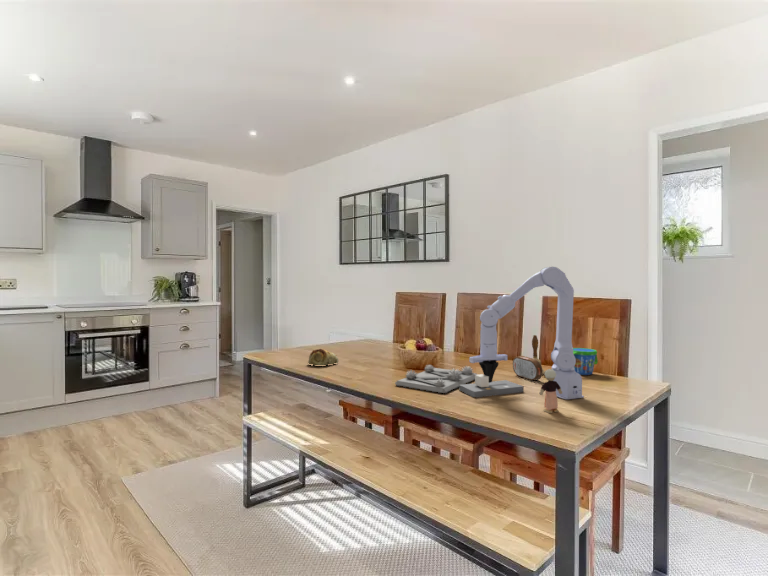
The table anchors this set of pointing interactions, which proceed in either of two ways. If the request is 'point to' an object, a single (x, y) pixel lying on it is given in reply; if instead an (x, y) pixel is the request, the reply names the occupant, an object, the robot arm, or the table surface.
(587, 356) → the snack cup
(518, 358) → the tin
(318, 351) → the pastry
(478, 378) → the switch tab
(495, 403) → the table surface
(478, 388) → the switch board
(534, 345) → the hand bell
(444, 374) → the grey knobbed board
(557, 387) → the grandmother figurine
